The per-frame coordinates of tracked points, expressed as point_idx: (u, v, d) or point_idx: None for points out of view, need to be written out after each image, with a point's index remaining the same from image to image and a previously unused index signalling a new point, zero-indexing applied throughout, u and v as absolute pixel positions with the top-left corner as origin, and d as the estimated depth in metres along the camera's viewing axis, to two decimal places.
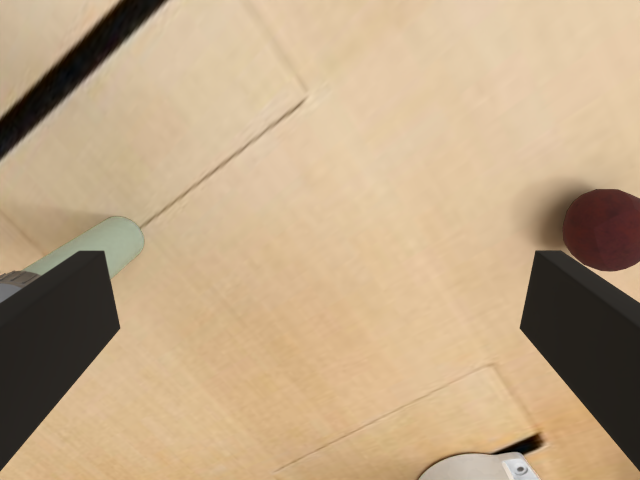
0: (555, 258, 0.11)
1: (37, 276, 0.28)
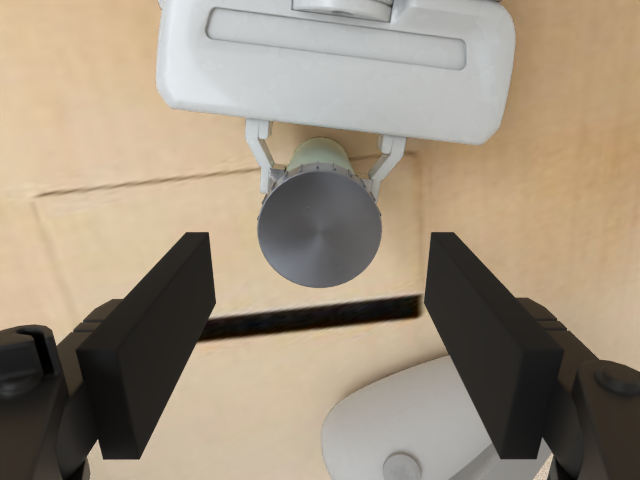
0: (444, 238, 0.13)
1: None
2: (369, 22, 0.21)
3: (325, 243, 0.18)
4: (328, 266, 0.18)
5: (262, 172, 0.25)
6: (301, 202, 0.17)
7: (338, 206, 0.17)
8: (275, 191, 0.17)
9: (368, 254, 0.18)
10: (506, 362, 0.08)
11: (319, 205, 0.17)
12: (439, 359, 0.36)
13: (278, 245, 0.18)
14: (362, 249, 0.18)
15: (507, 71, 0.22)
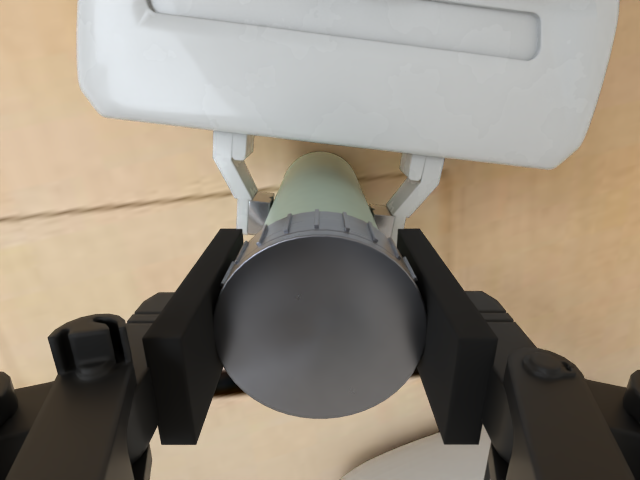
0: (409, 234, 0.13)
1: None
2: None
3: (330, 352, 0.10)
4: (335, 387, 0.11)
5: (239, 206, 0.18)
6: (288, 287, 0.10)
7: (353, 294, 0.10)
8: (241, 269, 0.09)
9: (403, 369, 0.10)
10: (448, 351, 0.08)
11: (319, 292, 0.10)
12: None
13: (249, 355, 0.10)
14: (393, 360, 0.10)
15: (602, 61, 0.14)
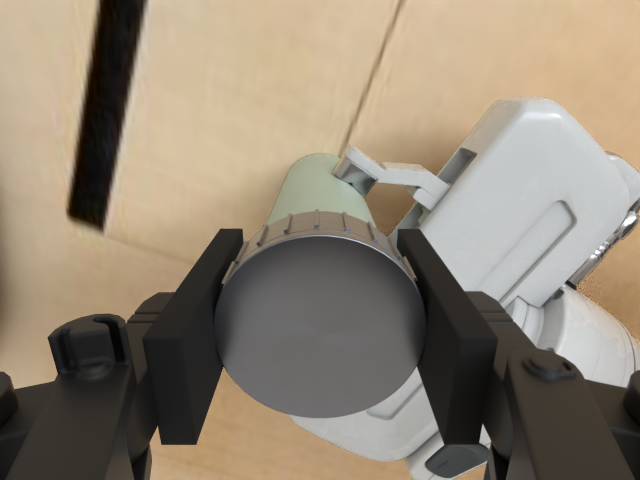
0: (409, 234, 0.13)
1: None
2: None
3: (330, 352, 0.10)
4: (335, 387, 0.11)
5: (377, 167, 0.18)
6: (288, 287, 0.10)
7: (354, 294, 0.10)
8: (242, 269, 0.09)
9: (403, 369, 0.10)
10: (448, 351, 0.08)
11: (320, 292, 0.10)
12: None
13: (249, 355, 0.10)
14: (394, 360, 0.10)
15: (344, 446, 0.22)
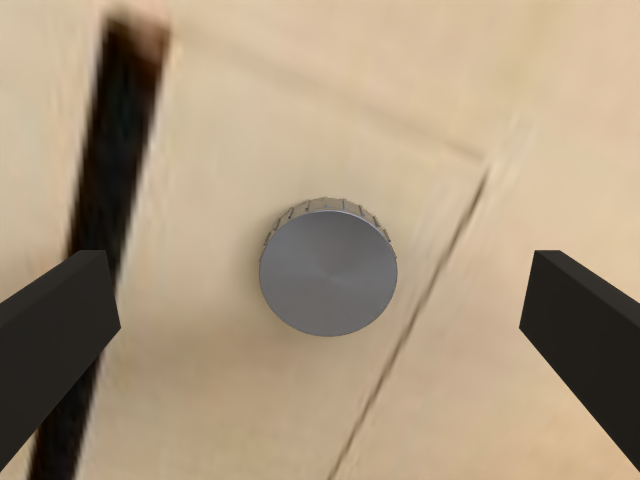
0: (554, 258, 0.11)
1: None
2: None
3: (334, 288, 0.16)
4: (337, 313, 0.16)
5: None
6: (308, 244, 0.15)
7: (349, 249, 0.15)
8: (279, 232, 0.15)
9: (382, 300, 0.16)
10: None
11: (328, 247, 0.15)
12: None
13: (282, 290, 0.16)
14: (376, 294, 0.16)
15: None
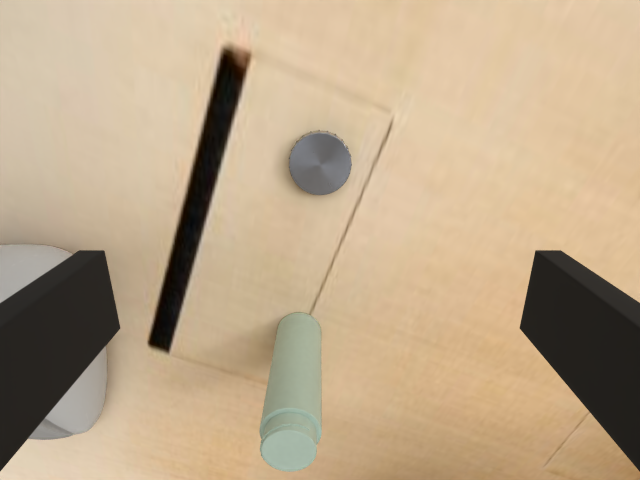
0: (555, 258, 0.11)
1: None
2: None
3: (323, 170, 0.35)
4: (324, 183, 0.36)
5: None
6: (311, 149, 0.35)
7: (329, 151, 0.35)
8: (298, 143, 0.34)
9: (344, 176, 0.35)
10: None
11: (320, 150, 0.35)
12: (106, 356, 0.42)
13: (299, 171, 0.35)
14: (342, 173, 0.35)
15: None
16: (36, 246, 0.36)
